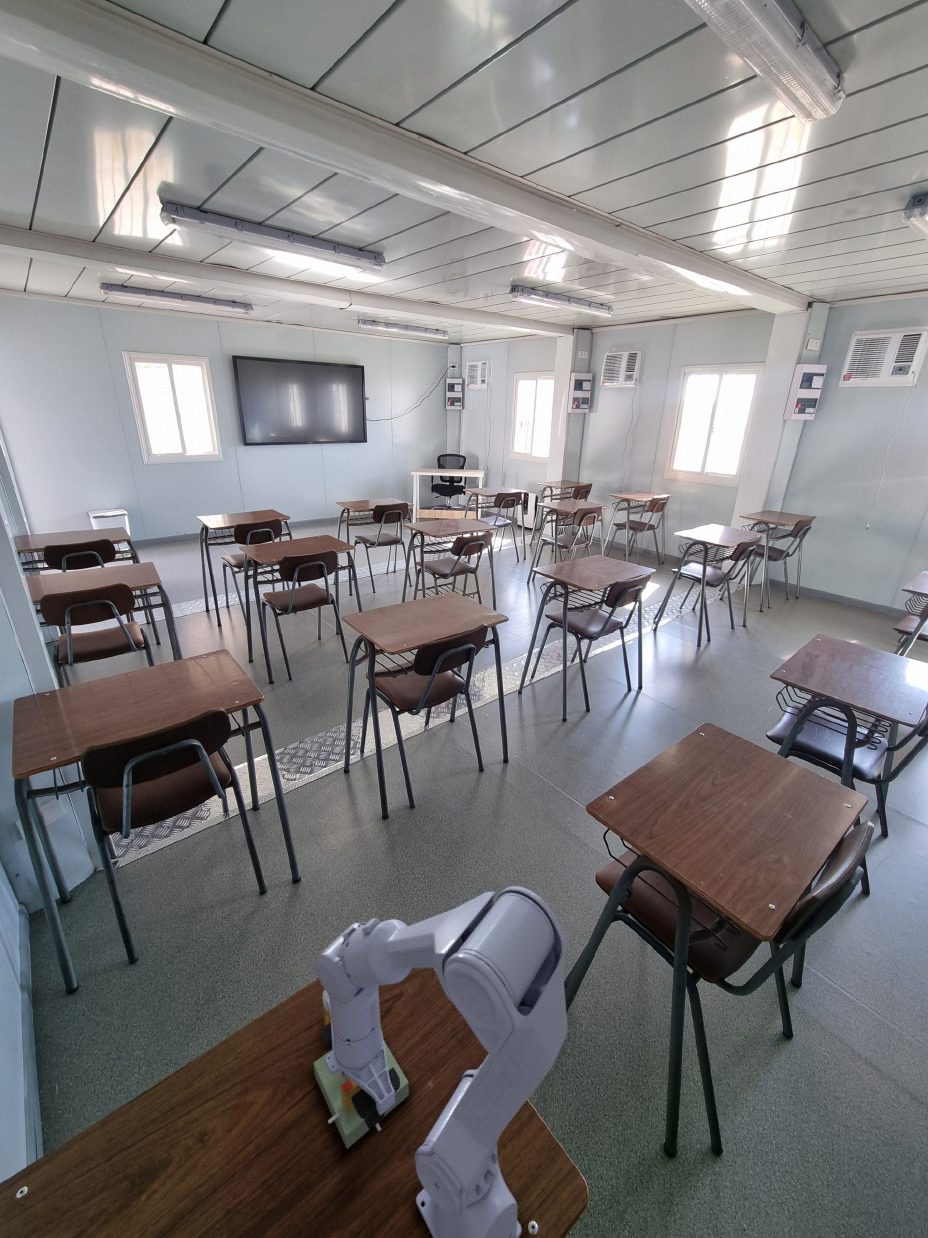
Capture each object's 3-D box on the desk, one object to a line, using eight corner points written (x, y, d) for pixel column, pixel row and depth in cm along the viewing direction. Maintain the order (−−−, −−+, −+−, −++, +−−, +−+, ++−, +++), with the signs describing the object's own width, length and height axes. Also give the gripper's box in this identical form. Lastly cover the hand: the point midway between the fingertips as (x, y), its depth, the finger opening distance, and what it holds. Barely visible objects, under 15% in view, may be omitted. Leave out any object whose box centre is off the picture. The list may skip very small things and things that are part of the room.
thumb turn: (376, 1077, 67) (375, 1057, 66) (381, 1086, 66) (380, 1066, 65) (341, 1105, 64) (340, 1084, 63) (346, 1114, 63) (344, 1094, 62)
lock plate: (417, 1110, 66) (417, 1096, 65) (346, 1175, 60) (345, 1160, 59) (372, 1032, 75) (371, 1019, 74) (306, 1081, 69) (305, 1068, 68)
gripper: (301, 989, 64) (310, 1064, 68) (352, 1097, 53) (359, 1179, 57) (352, 958, 68) (358, 1030, 72) (409, 1052, 57) (412, 1131, 61)
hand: (361, 1093), depth 65 cm, fingers open, 7 cm apart
